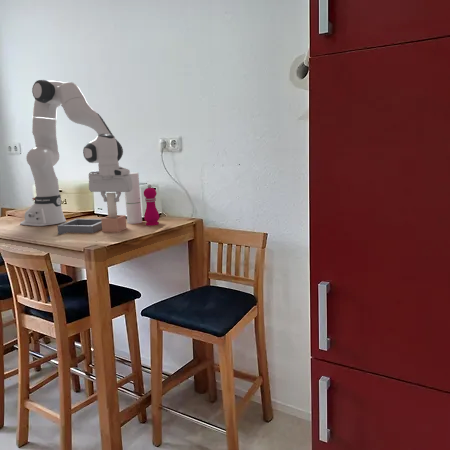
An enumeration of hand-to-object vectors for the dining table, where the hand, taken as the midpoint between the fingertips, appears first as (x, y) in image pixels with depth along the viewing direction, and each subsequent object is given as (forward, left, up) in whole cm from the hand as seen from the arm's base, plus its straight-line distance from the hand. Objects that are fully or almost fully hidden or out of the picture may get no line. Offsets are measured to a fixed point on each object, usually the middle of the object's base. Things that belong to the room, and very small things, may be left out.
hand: (111, 201), depth 214 cm
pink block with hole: (0, 0, -14) cm, 14 cm away
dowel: (0, 0, -9) cm, 9 cm away
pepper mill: (+13, +13, -14) cm, 23 cm away
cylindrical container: (+2, +17, -14) cm, 22 cm away
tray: (-16, +1, -14) cm, 21 cm away
